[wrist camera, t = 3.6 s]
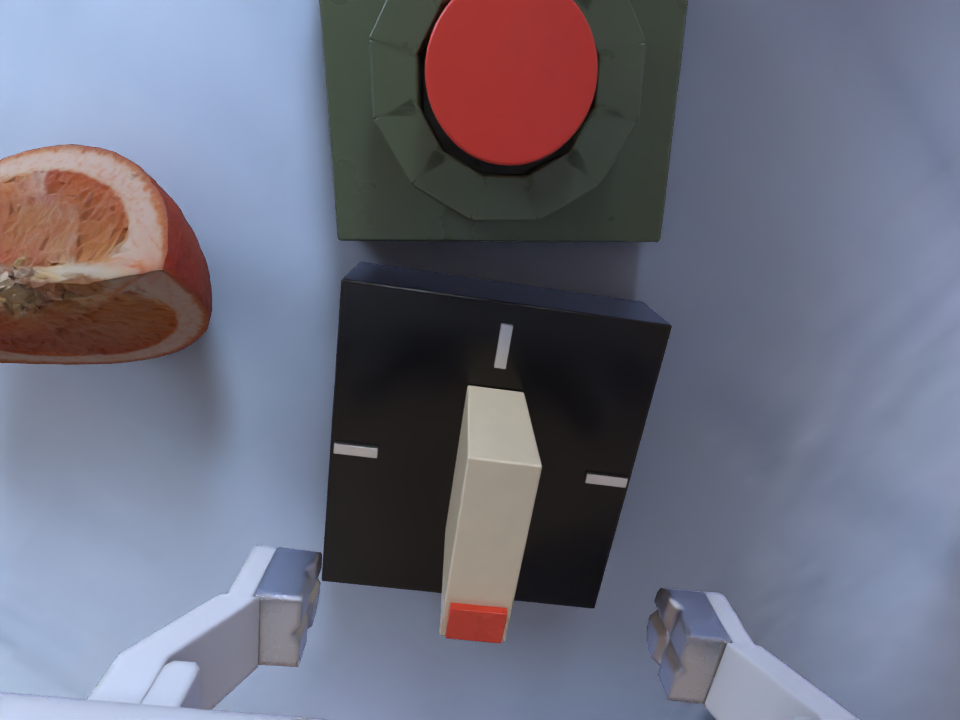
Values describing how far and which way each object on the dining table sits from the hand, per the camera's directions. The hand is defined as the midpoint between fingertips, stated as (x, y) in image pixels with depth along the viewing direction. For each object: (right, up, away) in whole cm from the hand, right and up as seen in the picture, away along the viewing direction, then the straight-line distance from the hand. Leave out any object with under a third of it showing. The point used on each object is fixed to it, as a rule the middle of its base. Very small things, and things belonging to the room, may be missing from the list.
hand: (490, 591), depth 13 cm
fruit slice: (-12, +9, +6) cm, 16 cm away
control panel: (0, +3, +8) cm, 9 cm away
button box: (0, +14, +4) cm, 14 cm away
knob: (0, +2, +5) cm, 5 cm away
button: (0, +13, +1) cm, 13 cm away
